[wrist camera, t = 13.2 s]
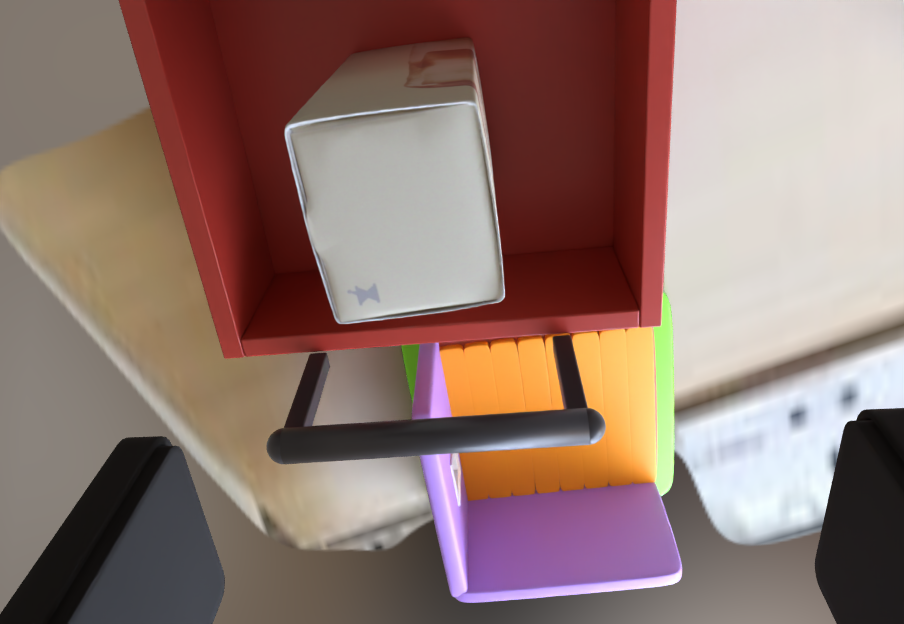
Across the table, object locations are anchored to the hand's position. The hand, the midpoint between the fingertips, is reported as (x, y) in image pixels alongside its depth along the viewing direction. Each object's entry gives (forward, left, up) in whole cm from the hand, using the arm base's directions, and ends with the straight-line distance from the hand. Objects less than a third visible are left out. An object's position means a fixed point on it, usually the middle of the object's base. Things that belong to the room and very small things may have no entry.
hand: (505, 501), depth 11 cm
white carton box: (+2, -1, -18) cm, 18 cm away
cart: (+2, -1, -20) cm, 20 cm away
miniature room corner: (-2, +14, -21) cm, 25 cm away
